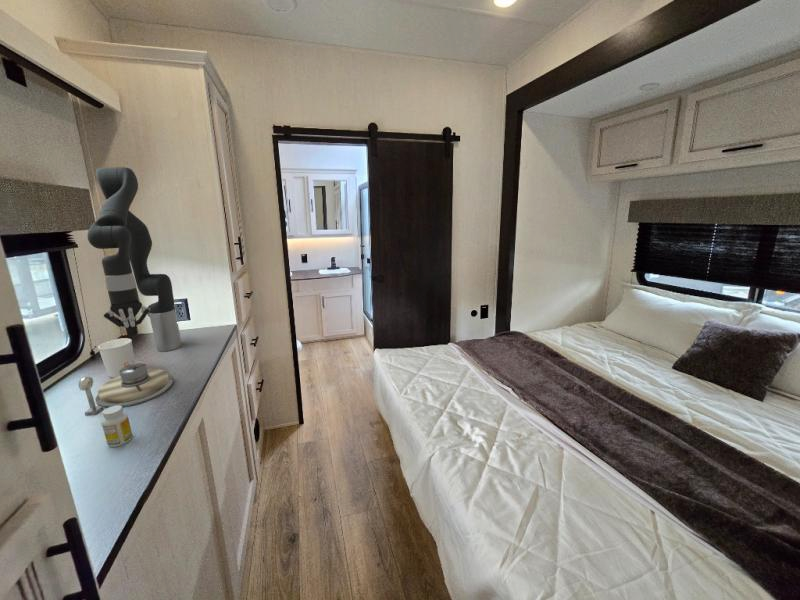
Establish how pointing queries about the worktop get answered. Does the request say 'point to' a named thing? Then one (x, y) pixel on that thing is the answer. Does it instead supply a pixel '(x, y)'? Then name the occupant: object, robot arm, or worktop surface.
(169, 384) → the turntable base
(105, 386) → the turntable
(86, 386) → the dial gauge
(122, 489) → the worktop surface
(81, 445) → the worktop surface
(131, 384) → the cover
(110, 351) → the candle holder
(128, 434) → the supplement bottle
